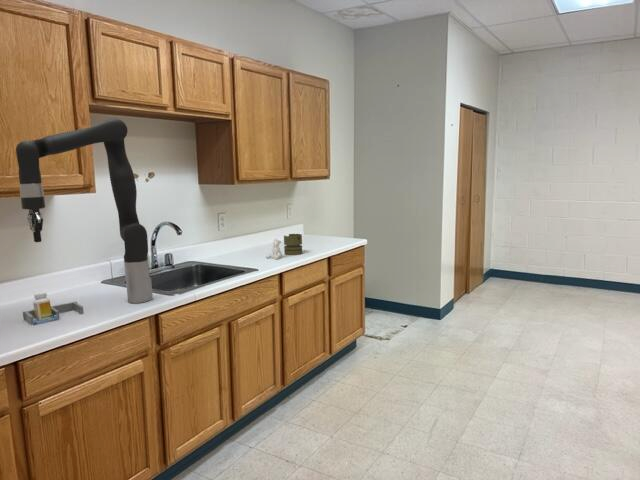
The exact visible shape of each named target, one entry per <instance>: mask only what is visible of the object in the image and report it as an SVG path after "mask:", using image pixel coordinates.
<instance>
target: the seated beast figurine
mask: <svg viewBox="0 0 640 480" xmlns="http://www.w3.org/2000/svg"><path fill="white" fill-rule="evenodd" d="M281 243H282V241H281V240H279V239H278V238H274V239H273V241H272V248H271V253H268V254H267V255H265V259H267V260H269V259H270V260H274V261H279V260H280V259H281V258H282V256H283V253H282V251H281V249H280V244H281Z"/></svg>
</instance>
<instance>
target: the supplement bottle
mask: <svg viewBox="0 0 640 480" xmlns="http://www.w3.org/2000/svg"><path fill="white" fill-rule="evenodd" d="M47 296H48V295H47V292H44V293H43V292H42V293H38V294H37V293H36V294H34V299H35V300H33V303H32V304H33V310H34V311H35V317H36V318H35V319H37V321H42V320H47V319H51V318H53V316H52V312H51V306H52V305H51V300H50V298H47Z"/></svg>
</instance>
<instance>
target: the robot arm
mask: <svg viewBox="0 0 640 480" xmlns="http://www.w3.org/2000/svg"><path fill="white" fill-rule="evenodd" d="M127 135H128V127H127V125H126V123H125V122H124V121H123V120H121V119H119V118H115V117H113V118H109V119H106V120H105V121H103V122H101V123H98V124H96V125H93V126H90V127H86V128H81V129H77V130H76V129H75V130H69V131H65V132H58V133H55V134H51V135H47V136H44V137H41V138H38V139H33V140H23V141H20V142H19V143H18V144H17V145H16V147H15V154H16V158H17V159H16V161H17V165H18V179H19V196H20V203H21V209H22V210H28V213H27V221H28V224H29V229H30V230H31V232H32V235H33V242H34V243H42V234H41V232H42V231H43V223H44V218H43V214H42V213H41V210H40V209H45V208H46V202H45V193H44V188H43V187H44V186H43V183H42V175H41V171H40V158H41V159H42V158H44V157H48V156H52V155H53V156H54V155H58V154H62V153H66V152H70V151H73V150H77V149H80V148H84V147H87V146H91V145H95V144H98V143H103V145H104V148H105V152H106V156H107V157H106V158H107V165H108V172H109V181H110V184H111V191H112V194H113V198H114V202H115V205H116V210H117V214H118V223H119V224H118V225H119V235H120V238H121V240H122V241H123V242H124V255H123V262H124V264H123V265H124V275H125V284H126V285H125V286H126V297H127V298H126V299H127V302H128V303H130V304H139V303H140V304H141V303H145V302H149V301H150V300H153V298H154V297H153V286H152V285H153V284H152V278H151V276H150V273H149V259H148V255H149V244H148V243H149V241H148V240H149V239H148V233H147V229H146V227H145V226H144V225H143V224H141V223H140V220H139V216H138V213H137V198H138V197H137V185H136V180H135V179H136V178H135V174H134V171H133V167H132V165H131V163H130V161H129V158H128V156H127V152H126V145H125V139H126V137H127Z"/></svg>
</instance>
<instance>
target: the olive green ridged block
mask: <svg viewBox="0 0 640 480" xmlns="http://www.w3.org/2000/svg"><path fill="white" fill-rule="evenodd" d="M302 235H303V234H301V233H289V234H288V235H283V245H284V246H283V249H284V250H283V251H284V255H285V256H301V255H303V245H302V244H303V236H302Z"/></svg>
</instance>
